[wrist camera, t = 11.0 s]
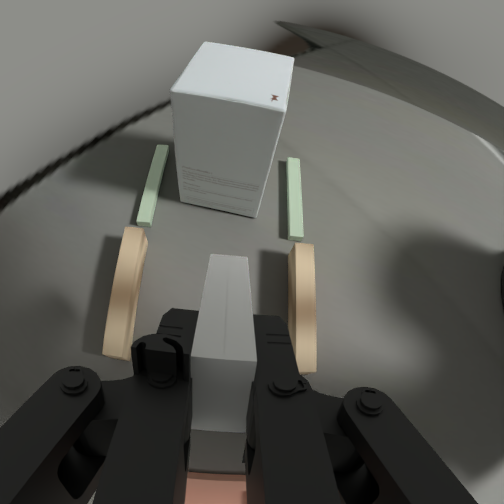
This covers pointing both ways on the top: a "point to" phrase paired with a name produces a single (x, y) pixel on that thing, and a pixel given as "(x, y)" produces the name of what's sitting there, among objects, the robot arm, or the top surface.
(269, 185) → the top surface
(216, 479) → the pit tray
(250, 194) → the supplement box
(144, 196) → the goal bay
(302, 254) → the channel
